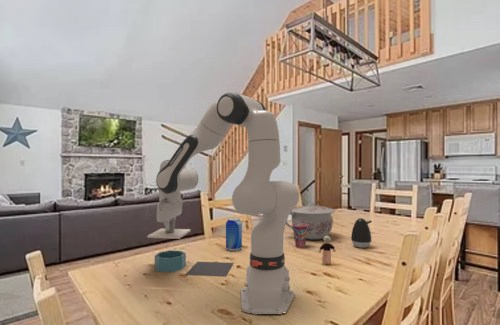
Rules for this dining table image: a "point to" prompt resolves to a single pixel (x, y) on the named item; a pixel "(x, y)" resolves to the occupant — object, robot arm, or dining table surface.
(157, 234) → the cover board
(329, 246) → the grandmother figurine
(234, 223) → the beer can
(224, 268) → the mat
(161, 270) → the bowl
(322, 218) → the chamber pot
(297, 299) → the dining table surface
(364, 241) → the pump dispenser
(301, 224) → the cup
